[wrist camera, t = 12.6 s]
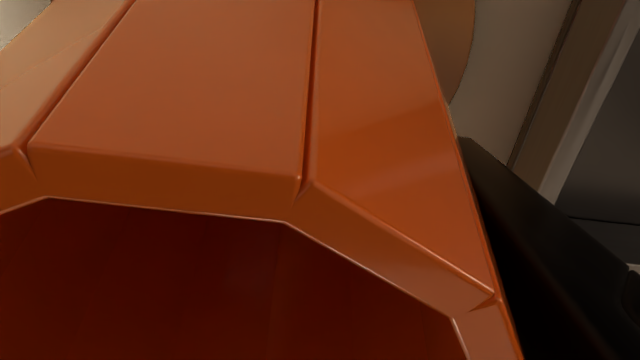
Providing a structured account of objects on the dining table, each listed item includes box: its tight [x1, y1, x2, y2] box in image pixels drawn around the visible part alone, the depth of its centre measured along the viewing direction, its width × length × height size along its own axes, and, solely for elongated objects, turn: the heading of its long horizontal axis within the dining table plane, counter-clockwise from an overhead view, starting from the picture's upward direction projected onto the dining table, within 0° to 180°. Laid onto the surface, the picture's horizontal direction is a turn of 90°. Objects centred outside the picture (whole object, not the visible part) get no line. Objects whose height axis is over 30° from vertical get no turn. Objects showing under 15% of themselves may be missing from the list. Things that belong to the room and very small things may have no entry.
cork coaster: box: [51, 0, 475, 106], centre depth 12 cm, size 8×8×1 cm
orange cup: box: [0, 0, 526, 360], centre depth 8 cm, size 6×6×7 cm
